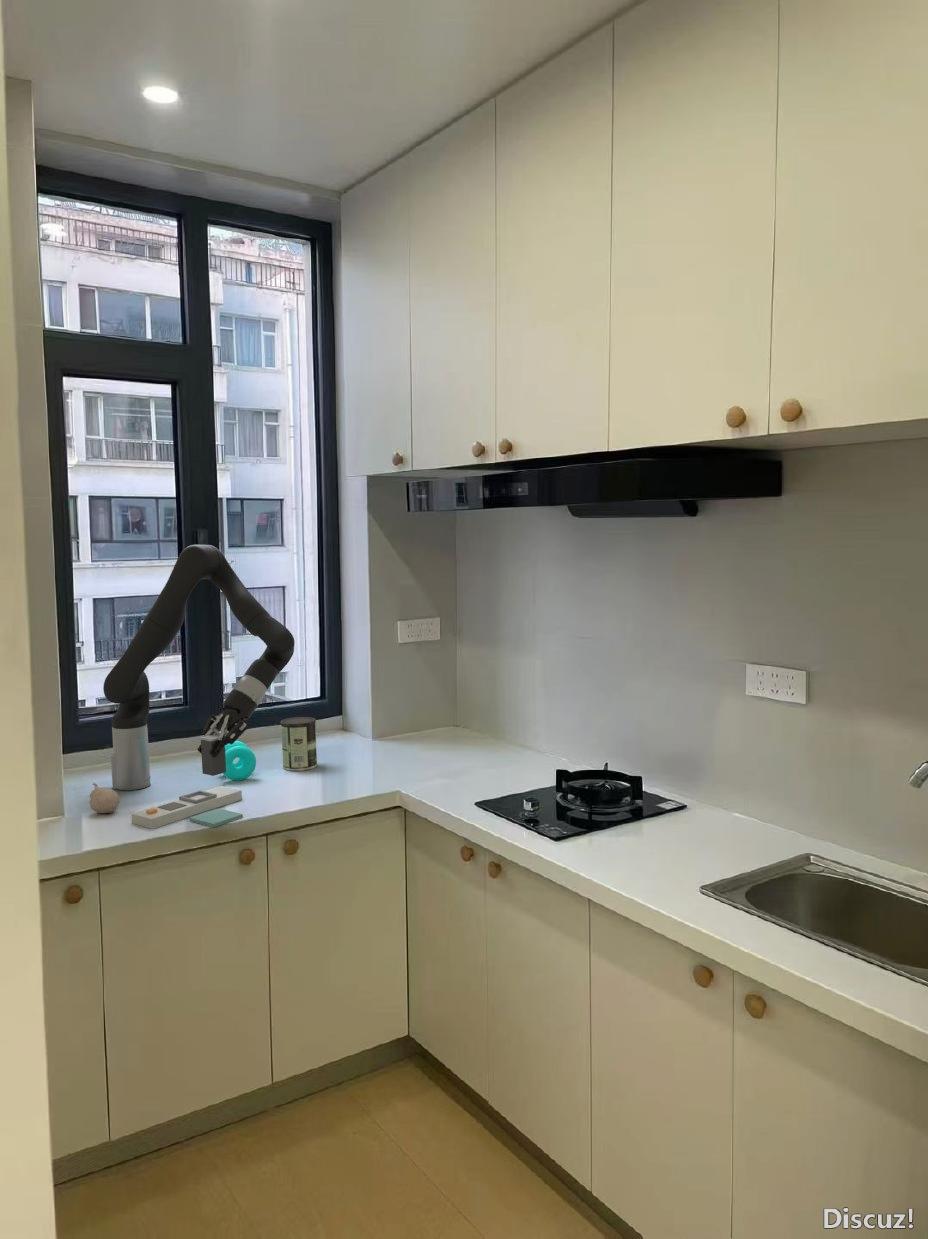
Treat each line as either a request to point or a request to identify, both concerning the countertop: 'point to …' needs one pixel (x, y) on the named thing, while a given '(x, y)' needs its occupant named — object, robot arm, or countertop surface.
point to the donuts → (239, 761)
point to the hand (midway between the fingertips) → (206, 753)
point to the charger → (211, 763)
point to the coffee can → (299, 743)
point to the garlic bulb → (104, 800)
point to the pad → (216, 817)
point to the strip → (185, 806)
